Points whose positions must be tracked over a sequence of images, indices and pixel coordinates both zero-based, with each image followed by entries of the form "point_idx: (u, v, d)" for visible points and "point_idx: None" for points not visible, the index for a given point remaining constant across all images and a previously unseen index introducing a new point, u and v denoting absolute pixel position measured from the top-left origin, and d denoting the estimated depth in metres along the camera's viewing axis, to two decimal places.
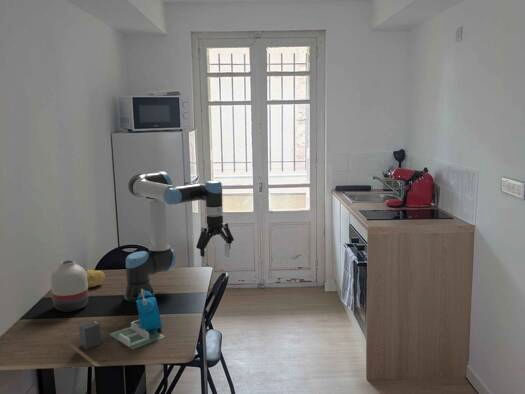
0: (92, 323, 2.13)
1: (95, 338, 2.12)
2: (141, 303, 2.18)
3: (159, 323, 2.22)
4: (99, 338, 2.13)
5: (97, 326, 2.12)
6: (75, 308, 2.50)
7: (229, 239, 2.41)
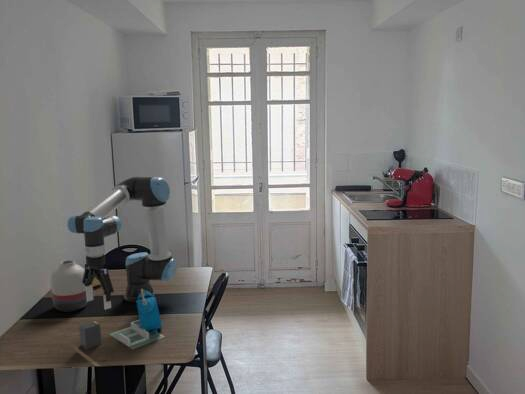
0: (92, 323, 2.13)
1: (95, 338, 2.12)
2: (141, 303, 2.18)
3: (159, 323, 2.22)
4: (99, 338, 2.13)
5: (97, 326, 2.12)
6: (75, 308, 2.50)
7: (104, 289, 2.05)
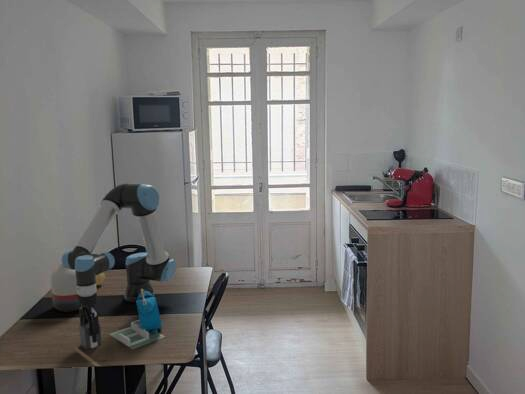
0: None
1: None
2: (141, 303, 2.18)
3: (159, 323, 2.22)
4: (99, 338, 2.13)
5: None
6: (75, 308, 2.50)
7: (91, 331, 2.08)
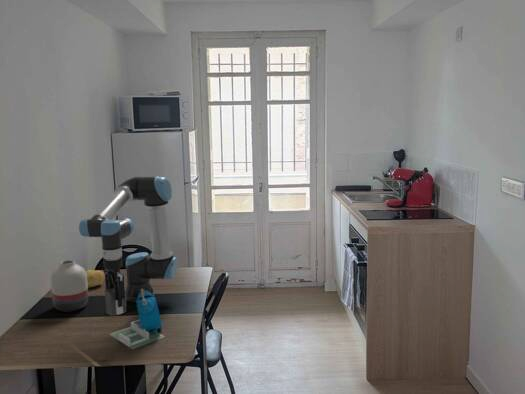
0: None
1: None
2: (141, 303, 2.18)
3: (159, 323, 2.22)
4: (124, 303, 2.13)
5: None
6: (75, 308, 2.50)
7: (117, 295, 2.08)
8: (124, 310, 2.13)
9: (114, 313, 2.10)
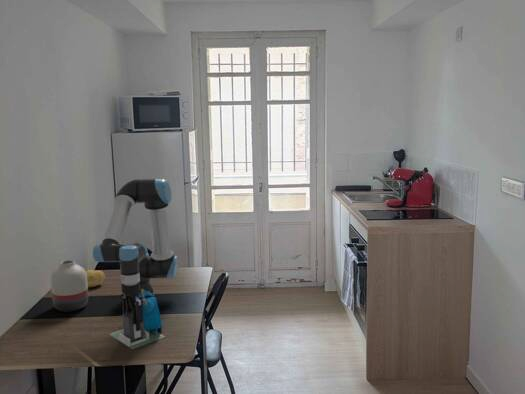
0: None
1: None
2: None
3: (159, 323, 2.22)
4: (142, 327, 2.16)
5: None
6: (75, 308, 2.50)
7: (135, 320, 2.12)
8: (142, 334, 2.17)
9: (132, 337, 2.14)
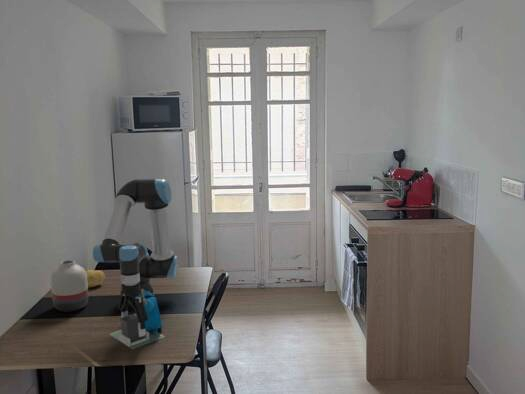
0: (133, 316, 2.16)
1: (137, 330, 2.15)
2: None
3: (159, 323, 2.22)
4: None
5: None
6: (75, 308, 2.50)
7: (139, 317, 2.09)
8: (140, 337, 2.17)
9: (131, 341, 2.14)
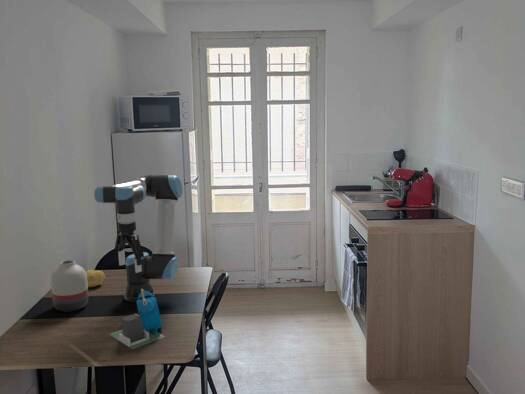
0: (134, 316, 2.16)
1: (137, 330, 2.15)
2: (141, 303, 2.18)
3: (159, 323, 2.22)
4: (141, 330, 2.16)
5: (139, 318, 2.15)
6: (75, 308, 2.50)
7: (135, 254, 2.19)
8: (141, 337, 2.17)
9: (131, 341, 2.14)
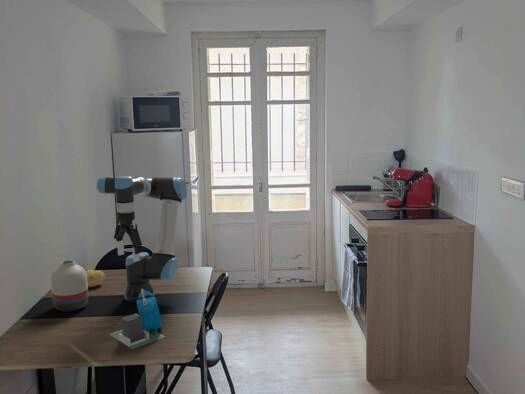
0: (134, 316, 2.16)
1: (137, 330, 2.15)
2: (141, 303, 2.18)
3: (159, 323, 2.22)
4: (141, 330, 2.16)
5: (139, 318, 2.15)
6: (75, 308, 2.50)
7: (133, 243, 2.22)
8: (141, 337, 2.17)
9: (131, 341, 2.14)
